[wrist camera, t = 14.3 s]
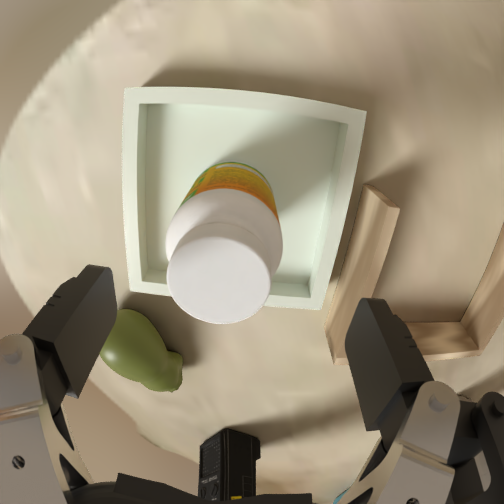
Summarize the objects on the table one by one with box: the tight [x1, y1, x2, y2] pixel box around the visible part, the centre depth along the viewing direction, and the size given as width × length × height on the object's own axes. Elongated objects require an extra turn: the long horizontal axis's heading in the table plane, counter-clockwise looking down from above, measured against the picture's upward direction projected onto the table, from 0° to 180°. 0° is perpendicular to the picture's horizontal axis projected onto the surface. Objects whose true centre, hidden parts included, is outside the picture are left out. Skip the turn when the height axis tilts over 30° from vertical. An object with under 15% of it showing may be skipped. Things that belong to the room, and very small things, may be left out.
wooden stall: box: [324, 185, 504, 365], centre depth 22 cm, size 17×13×4 cm
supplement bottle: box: [166, 161, 283, 324], centre depth 16 cm, size 5×5×10 cm
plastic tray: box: [122, 87, 367, 310], centre depth 20 cm, size 14×14×2 cm
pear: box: [99, 309, 183, 392], centre depth 25 cm, size 6×5×10 cm
